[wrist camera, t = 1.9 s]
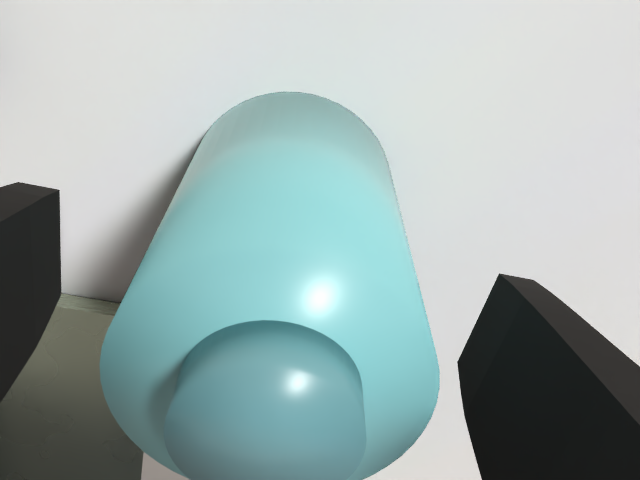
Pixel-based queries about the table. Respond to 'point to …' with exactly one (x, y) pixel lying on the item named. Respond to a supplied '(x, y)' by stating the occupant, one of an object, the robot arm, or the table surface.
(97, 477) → the motor
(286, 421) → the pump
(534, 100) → the table surface
